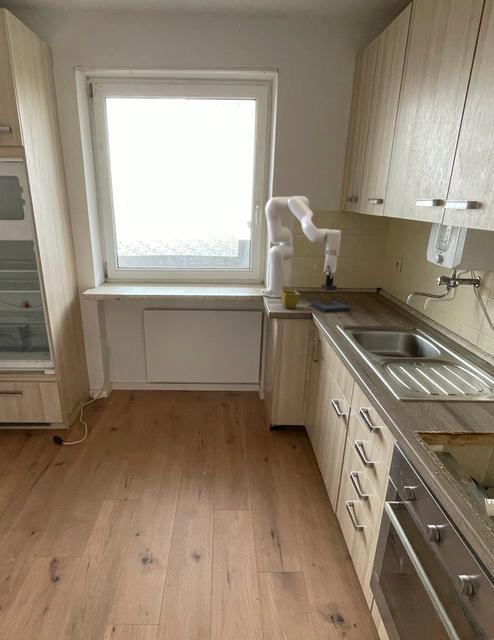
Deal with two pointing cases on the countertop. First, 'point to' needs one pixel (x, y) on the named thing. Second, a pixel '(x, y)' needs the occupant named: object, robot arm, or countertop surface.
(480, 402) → the countertop surface
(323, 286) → the dark stamp
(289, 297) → the flower pot
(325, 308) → the big pad
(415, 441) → the countertop surface
